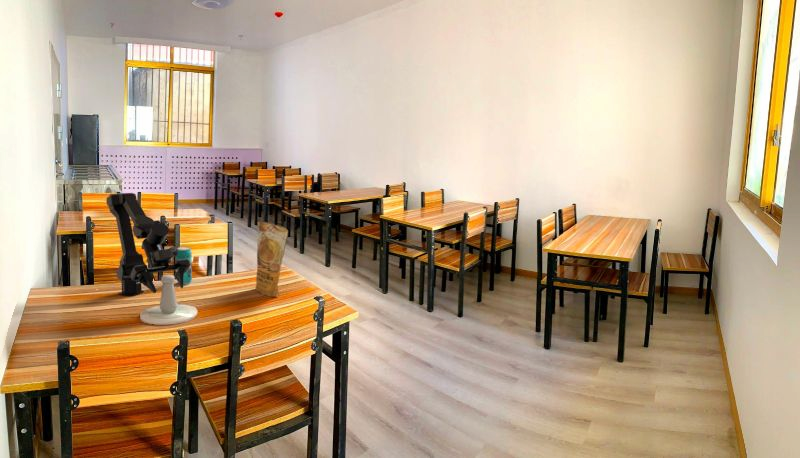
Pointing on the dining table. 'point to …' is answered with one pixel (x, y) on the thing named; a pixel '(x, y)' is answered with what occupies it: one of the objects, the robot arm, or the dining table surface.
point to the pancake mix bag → (269, 257)
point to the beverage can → (186, 254)
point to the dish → (168, 315)
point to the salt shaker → (168, 295)
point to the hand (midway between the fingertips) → (169, 290)
